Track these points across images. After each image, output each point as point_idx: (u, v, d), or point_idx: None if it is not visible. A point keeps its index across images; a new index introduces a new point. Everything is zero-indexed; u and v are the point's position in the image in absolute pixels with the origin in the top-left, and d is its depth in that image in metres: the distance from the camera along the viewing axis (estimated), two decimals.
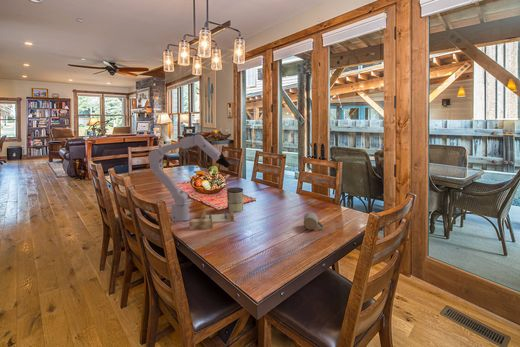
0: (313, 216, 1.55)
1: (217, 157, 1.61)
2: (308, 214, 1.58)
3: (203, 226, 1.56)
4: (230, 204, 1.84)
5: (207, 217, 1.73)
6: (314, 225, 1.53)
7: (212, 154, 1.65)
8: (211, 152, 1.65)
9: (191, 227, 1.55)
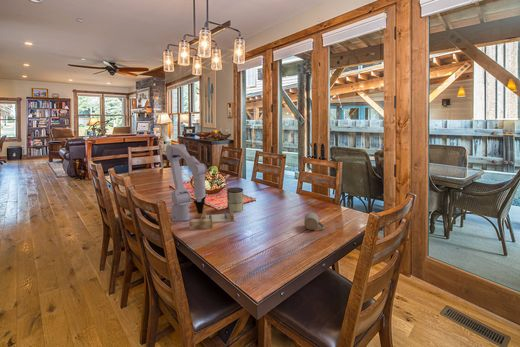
0: (314, 216, 1.55)
1: (199, 199, 1.48)
2: (309, 214, 1.58)
3: (203, 226, 1.56)
4: (230, 204, 1.84)
5: (207, 217, 1.73)
6: (315, 225, 1.53)
7: (198, 192, 1.52)
8: (198, 189, 1.51)
9: (191, 227, 1.55)
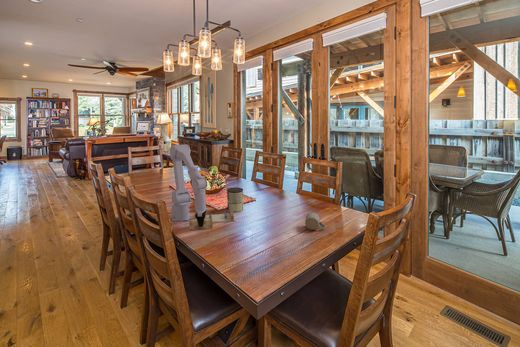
0: (315, 216, 1.55)
1: (200, 214, 1.49)
2: (310, 214, 1.58)
3: (203, 226, 1.56)
4: (230, 204, 1.84)
5: (207, 217, 1.73)
6: (316, 225, 1.53)
7: (198, 206, 1.53)
8: (199, 204, 1.53)
9: (191, 227, 1.55)
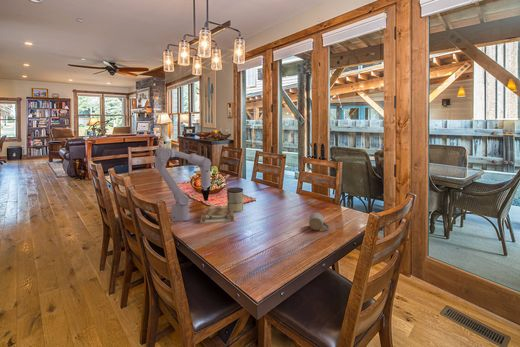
0: (319, 216, 1.55)
1: (205, 188, 1.70)
2: (314, 214, 1.57)
3: (220, 212, 1.70)
4: (230, 204, 1.84)
5: (207, 217, 1.73)
6: (320, 225, 1.52)
7: (204, 181, 1.74)
8: (204, 180, 1.74)
9: (209, 213, 1.69)
